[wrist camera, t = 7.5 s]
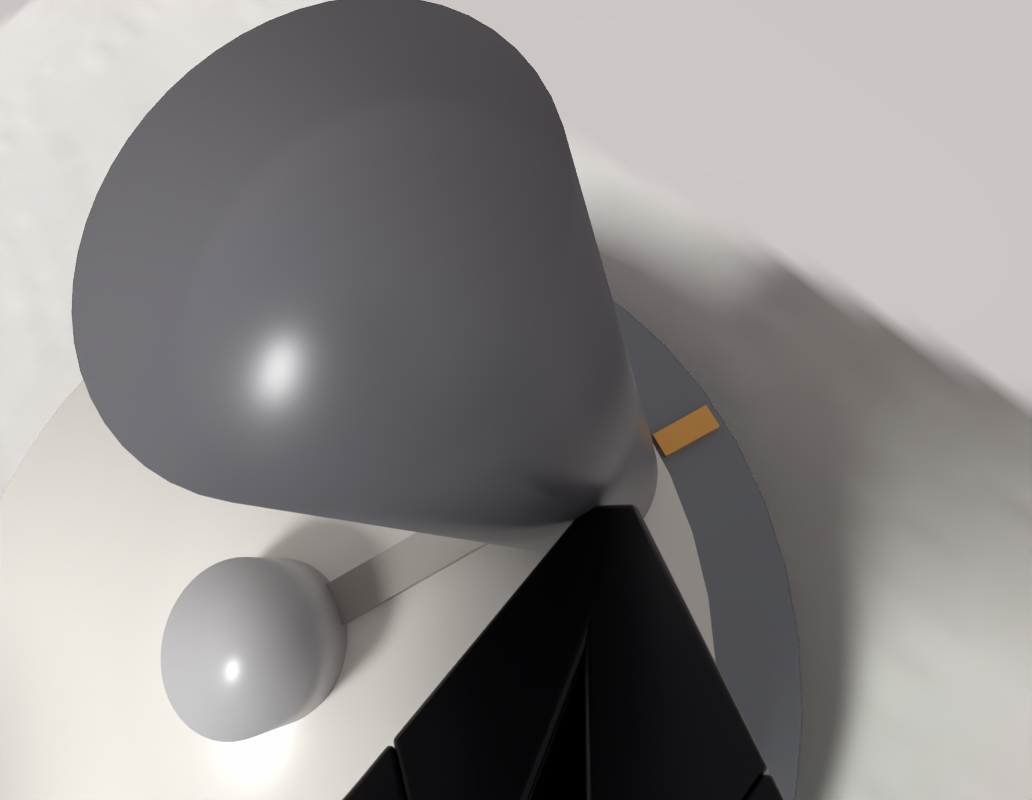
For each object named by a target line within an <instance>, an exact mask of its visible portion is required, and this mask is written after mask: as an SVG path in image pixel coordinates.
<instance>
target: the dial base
mask: <svg viewBox="0 0 1032 800" xmlns="http://www.w3.org/2000/svg"><path fill="white" fill-rule="evenodd" d="M613 304H614V308H615V311H616V315H617V318H618V322H619V325H620V329H621V332H622V336H623V339H624V343H625V346H626V350H627V354H628V357H629V361H630V364H631V368H632V371H633V375H634V378H635V382H636V385H637V389H638V392H639V396H640V400H641V403H642V407H643V410H644V414H645V417H646V421H647V424H648V428H649V431H650V435H651V439H652V442H653V444H654V446H655V448H656V450H657V452H658V454H659V455H660V457H661V459H662V461H663V463H664V465H665V466H666V468H667V470H668V472H669V474H670V476H671V478H672V481H673V484H674V486H675V489H676V491H677V494H678V497H679V499H680V502H681V504H682V507H683V510H684V512H685V515H686V517H687V520H688V522H689V525H690V528H691V530H692V533H693V537H694V541H695V545H696V549H697V553H698V557H699V561H700V565H701V570H702V574H703V578H704V582H705V586H706V590H707V594H708V600H709V608H710V617H711V626H712V635H713V644H714V653H715V662H716V664H717V666H718V668H719V670H720V672H721V674H722V676H723V678H724V680H725V682H726V684H727V686H728V688H729V690H730V692H731V694H732V696H733V698H734V700H735V702H736V704H737V706H738V708H739V710H740V712H741V714H742V716H743V718H744V720H745V722H746V724H747V726H748V728H749V730H750V732H751V734H752V736H753V738H754V740H755V742H756V744H757V746H758V748H759V750H760V752H761V754H762V756H763V758H764V760H765V762H766V764H767V766H768V774H769V775H771V776H773V777H774V779H775V781H776V783H777V785H778V787H779V789H780V791H781V793H782V795H783V797H784V799H785V800H794V797H795V793H796V783H797V771H798V759H799V747H800V735H801V723H802V700H801V679H800V659H799V639H798V633H797V628H796V622H795V617H794V611H793V606H792V600H791V595H790V589H789V583H788V578H787V572H786V567H785V564H784V561H783V558H782V555H781V552H780V548H779V545H778V542H777V539H776V536H775V533H774V530H773V526H772V523H771V520H770V517H769V514H768V511H767V508H766V505H765V502H764V499H763V497H762V495H761V493H760V491H759V489H758V487H757V485H756V482H755V480H754V478H753V476H752V474H751V472H750V470H749V468H748V465H747V463H746V461H745V459H744V457H743V455H742V453H741V450H740V448H739V446H738V444H737V442H736V441H735V439H734V437H733V436H732V434H731V433H730V431H729V430H728V428H727V427H726V425H725V423H724V422H723V420H722V419H721V417H720V416H719V414H718V413H717V411H716V409H715V408H714V406H713V405H712V403H711V402H710V400H709V399H708V397H707V395H706V394H705V392H704V391H703V389H702V388H701V387H700V386H699V385H698V384H697V382H696V381H695V380H694V379H693V378H692V377H691V375H690V374H689V373H688V372H687V371H686V369H685V368H684V367H683V366H682V365H681V364H680V362H679V361H678V360H677V359H676V358H675V357H674V355H673V354H672V353H671V352H670V351H669V350H668V348H667V347H666V346H665V345H664V344H663V343H662V342H661V341H660V340H658V339H657V338H656V337H655V336H654V335H653V334H652V333H651V332H649V331H648V330H647V329H646V328H645V327H644V326H643V325H642V324H641V323H639V322H638V321H637V320H636V319H635V318H634V317H633V316H632V315H630V314H629V313H628V312H627V311H626V310H625V309H624V308H622V307H621V306H619V305H618V304H616V303H615V302H614V301H613Z"/></svg>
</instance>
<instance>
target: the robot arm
mask: <svg viewBox="0 0 1032 800" xmlns="http://www.w3.org/2000/svg"><path fill="white" fill-rule="evenodd" d="M393 743H394V747H393V746H387V747H386V748H385V749H384V750H383V752H382V753H381V754H380V755H379V756H378V758H377V759H376V760H375V761H374V762H373V764H372V765H371V766H370V767H369V768H368V770H367V771H366V772H365V773H364V775H363V776H362V777H361V778H360V779H359V781H358V782H357V783H356V784H355V785H354V786H353V788H352V789H351V790H350V791H349V792H348V793H347V794H346V796H345V797H344V798H343V799H342V800H785V799H784V797H783V795H782V793H781V791H780V789H779V787H778V785H777V783H776V781H775V779H774V777H773V776H771V775H769V774H768V766H767V764H766V762H765V760H764V758H763V756H762V754H761V752H760V750H759V748H758V746H757V744H756V742H755V740H754V738H753V736H752V734H751V732H750V730H749V728H748V726H747V724H746V722H745V720H744V718H743V716H742V714H741V712H740V710H739V708H738V706H737V704H736V702H735V700H734V698H733V696H732V694H731V692H730V690H729V688H728V686H727V684H726V682H725V680H724V678H723V676H722V674H721V672H720V670H719V668H718V666H717V664H716V662H715V660H714V658H713V656H712V654H711V652H710V650H709V648H708V646H707V644H706V643H705V641H704V639H703V637H702V635H701V633H700V631H699V629H698V627H697V625H696V623H695V621H694V619H693V617H692V615H691V613H690V611H689V609H688V607H687V605H686V603H685V601H684V599H683V597H682V595H681V593H680V591H679V589H678V587H677V585H676V583H675V581H674V579H673V577H672V575H671V573H670V571H669V569H668V567H667V565H666V563H665V561H664V559H663V557H662V555H661V553H660V551H659V549H658V547H657V545H656V543H655V541H654V539H653V537H652V535H651V533H650V531H649V529H648V527H647V525H646V523H645V521H644V519H643V517H642V515H641V513H640V511H639V509H638V508H637V507H636V506H635V505H631V504H629V505H598V506H596V507H594V508H592V509H591V510H589V511H588V512H586V513H585V514H583V515H581V516H580V517H578V518H576V519H575V520H574V521H573V522H572V523H571V525H570V526H569V527H568V528H567V529H566V531H565V532H564V533H563V534H562V535H561V537H560V538H559V539H558V540H557V541H556V543H555V544H554V545H553V546H552V548H551V549H550V550H549V551H548V552H547V554H546V555H545V556H544V557H543V558H542V560H541V561H540V562H539V563H538V564H537V566H536V567H535V568H534V569H533V571H532V572H531V573H530V574H529V575H528V577H527V578H526V579H525V580H524V581H523V583H522V584H521V585H520V586H519V587H518V589H517V590H516V591H515V592H514V594H513V595H512V596H511V597H510V598H509V600H508V601H507V602H506V603H505V604H504V606H503V607H502V608H501V609H500V610H499V612H498V613H497V614H496V615H495V617H494V618H493V619H492V620H491V621H490V623H489V624H488V625H487V626H486V627H485V629H484V630H483V631H482V632H481V633H480V635H479V636H478V637H477V638H476V640H475V641H474V642H473V643H472V644H471V646H470V647H469V648H468V649H467V650H466V652H465V653H464V654H463V655H462V656H461V658H460V659H459V660H458V661H457V663H456V664H455V665H454V666H453V667H452V669H451V670H450V671H449V672H448V673H447V675H446V676H445V677H444V678H443V679H442V681H441V682H440V683H439V684H438V686H437V687H436V688H435V689H434V690H433V692H432V693H431V694H430V695H429V696H428V698H427V699H426V700H425V701H424V702H423V704H422V705H421V706H420V707H419V709H418V710H417V711H416V712H415V713H414V715H413V716H412V717H411V718H410V719H409V721H408V722H407V723H406V724H405V725H404V727H403V728H402V729H401V730H400V732H399V733H398V734H397V735H396V736H395V738H394V740H393Z"/></svg>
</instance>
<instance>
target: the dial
mask: <svg viewBox="0 0 1032 800" xmlns="http://www.w3.org/2000/svg"><path fill="white" fill-rule="evenodd" d="M72 323H73V335H74V344H75V349H76V353H77V358H78V363H79V367H80V371H81V374H82V377H83V379H84V380H83V381H82V382H81V383H80V384H79V385H78V386H77V387H76V388H75V390H74V391H73V392H72V393H71V394H70V395H69V396H68V397H67V398H66V400H65V401H64V402H63V403H62V404H61V405H60V407H59V408H58V409H57V411H56V412H55V414H54V415H53V416H52V418H51V419H50V420H49V422H48V423H47V424H46V426H45V427H44V428H43V430H42V431H41V432H40V434H39V435H38V437H37V438H36V439H35V441H34V442H33V444H32V445H31V447H30V449H29V450H28V452H27V454H26V455H25V457H24V459H23V460H22V462H21V464H20V465H19V467H18V469H17V470H16V472H15V474H14V475H13V477H12V479H11V480H10V482H9V484H8V486H7V488H6V490H5V492H4V494H3V496H2V498H1V500H0V800H342V799H343V798H344V797H345V796H346V794H347V793H348V792H349V791H350V790H351V789H352V788H353V786H354V785H355V784H356V783H357V782H358V781H359V779H360V778H361V777H362V776H363V775H364V773H365V772H366V771H367V770H368V768H369V767H370V766H371V765H372V764H373V762H374V761H375V760H376V759H377V758H378V756H379V755H380V754H381V753H382V752H383V750H384V749H385V748H386V747H387V746H393V747H394V743H393V740H394V738H395V736H396V735H397V734H398V733H399V732H400V730H401V729H402V728H403V727H404V725H405V724H406V723H407V722H408V721H409V719H410V718H411V717H412V716H413V715H414V713H415V712H416V711H417V710H418V709H419V707H420V706H421V705H422V704H423V702H424V701H425V700H426V699H427V698H428V696H429V695H430V694H431V693H432V692H433V690H434V689H435V688H436V687H437V686H438V684H439V683H440V682H441V681H442V679H443V678H444V677H445V676H446V675H447V673H448V672H449V671H450V670H451V669H452V667H453V666H454V665H455V664H456V663H457V661H458V660H459V659H460V658H461V656H462V655H463V654H464V653H465V652H466V650H467V649H468V648H469V647H470V646H471V644H472V643H473V642H474V641H475V640H476V638H477V637H478V636H479V635H480V633H481V632H482V631H483V630H484V629H485V627H486V626H487V625H488V624H489V623H490V621H491V620H492V619H493V618H494V617H495V615H496V614H497V613H498V612H499V610H500V609H501V608H502V607H503V606H504V604H505V603H506V602H507V601H508V600H509V598H510V597H511V596H512V595H513V594H514V592H515V591H516V590H517V589H518V587H519V586H520V585H521V584H522V583H523V581H524V580H525V579H526V578H527V577H528V575H529V574H530V573H531V572H532V571H533V569H534V568H535V567H536V566H537V564H538V563H539V562H540V561H541V560H542V558H543V557H544V556H545V555H546V554H547V552H548V551H549V550H550V549H551V548H552V546H553V545H554V544H555V543H556V541H557V540H558V539H559V538H560V537H561V535H562V534H563V533H564V532H565V531H566V529H567V528H568V527H569V526H570V525H571V523H572V522H573V521H574V520H575V519H576V518H578V517H580V516H581V515H583V514H585V513H586V512H588V511H589V510H591V509H592V508H594V507H596V506H598V505H629V504H631V505H635V506H636V507H637V508H638V509H639V511H640V513H641V515H642V517H643V519H644V521H645V523H646V525H647V527H648V529H649V531H650V533H651V535H652V537H653V539H654V541H655V543H656V545H657V547H658V549H659V551H660V553H661V555H662V557H663V559H664V561H665V563H666V565H667V567H668V569H669V571H670V573H671V575H672V577H673V579H674V581H675V583H676V585H677V587H678V589H679V591H680V593H681V595H682V597H683V599H684V601H685V603H686V605H687V607H688V609H689V611H690V613H691V615H692V617H693V619H694V621H695V623H696V625H697V627H698V629H699V631H700V633H701V635H702V637H703V639H704V641H705V643H706V644H707V646H708V648H709V650H710V652H711V654H712V656H713V658H714V660H715V653H714V644H713V635H712V626H711V617H710V608H709V600H708V594H707V590H706V586H705V582H704V578H703V574H702V570H701V565H700V561H699V557H698V553H697V549H696V545H695V541H694V537H693V533H692V530H691V528H690V525H689V522H688V520H687V517H686V515H685V512H684V510H683V507H682V504H681V502H680V499H679V497H678V494H677V491H676V489H675V486H674V484H673V481H672V478H671V476H670V474H669V472H668V470H667V468H666V466H665V465H664V463H663V461H662V459H661V457H660V455H659V454H658V452H657V450H656V448H655V446H654V444H653V442H652V439H651V435H650V431H649V428H648V424H647V421H646V417H645V414H644V410H643V407H642V403H641V400H640V396H639V392H638V389H637V385H636V382H635V378H634V375H633V371H632V368H631V364H630V361H629V357H628V354H627V350H626V346H625V343H624V339H623V336H622V332H621V329H620V325H619V322H618V318H617V315H616V311H615V308H614V304H613V300H612V297H611V293H610V290H609V286H608V283H607V279H606V276H605V272H604V269H603V265H602V261H601V258H600V254H599V251H598V247H597V244H596V240H595V237H594V233H593V230H592V226H591V223H590V219H589V215H588V212H587V208H586V205H585V201H584V198H583V194H582V191H581V187H580V184H579V180H578V177H577V173H576V169H575V166H574V162H573V159H572V155H571V152H570V148H569V145H568V141H567V138H566V134H565V130H564V127H563V124H562V122H561V119H560V117H559V114H558V112H557V109H556V107H555V104H554V102H553V99H552V97H551V95H550V94H549V92H548V90H547V89H546V87H545V86H544V84H543V82H542V81H541V79H540V77H539V76H538V74H537V72H536V71H535V70H534V68H533V67H532V66H531V65H530V64H529V63H528V62H527V60H526V59H525V58H524V57H523V56H522V55H521V54H520V52H519V51H518V50H517V49H516V48H515V47H514V46H512V45H511V44H510V43H509V42H507V41H506V40H505V39H504V38H503V37H501V36H500V35H499V34H498V33H497V32H495V31H494V30H493V29H491V28H489V27H488V26H486V25H484V24H482V23H481V22H479V21H477V20H476V19H474V18H472V17H470V16H469V15H466V14H463V13H461V12H458V11H456V10H453V9H451V8H448V7H445V6H443V5H439V4H435V3H430V2H426V1H422V0H335V1H328V2H324V3H320V4H317V5H313V6H309V7H305V8H302V9H298V10H295V11H293V12H290V13H288V14H285V15H282V16H280V17H277V18H275V19H272V20H269V21H267V22H265V23H263V24H261V25H260V26H258V27H256V28H254V29H252V30H250V31H248V32H246V33H244V34H242V35H240V36H239V37H237V38H235V39H234V40H232V41H231V42H229V43H227V44H226V45H224V46H223V47H221V48H219V49H218V50H216V51H215V52H214V53H212V54H211V55H210V56H208V57H207V58H206V59H204V60H203V61H202V62H200V63H199V64H198V65H197V66H195V67H194V68H193V69H191V70H190V71H189V72H188V73H187V74H186V75H185V76H184V77H183V78H181V79H180V80H179V81H178V82H177V83H176V84H175V85H174V86H173V87H172V88H171V89H170V90H168V91H167V92H166V94H165V95H164V96H163V97H162V98H161V99H160V100H159V101H158V102H157V103H156V105H155V106H154V107H153V108H152V109H151V110H150V111H149V112H148V113H147V114H146V116H145V117H144V118H143V120H142V121H141V122H140V124H139V125H138V126H137V128H136V129H135V130H134V132H133V133H132V134H131V136H130V137H129V138H128V140H127V141H126V143H125V144H124V146H123V148H122V149H121V151H120V152H119V154H118V156H117V157H116V159H115V160H114V162H113V164H112V165H111V167H110V169H109V171H108V173H107V175H106V177H105V179H104V181H103V183H102V185H101V187H100V189H99V191H98V193H97V195H96V198H95V200H94V203H93V206H92V208H91V211H90V213H89V216H88V219H87V221H86V224H85V228H84V231H83V235H82V239H81V243H80V246H79V250H78V254H77V260H76V267H75V273H74V279H73V294H72Z"/></svg>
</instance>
